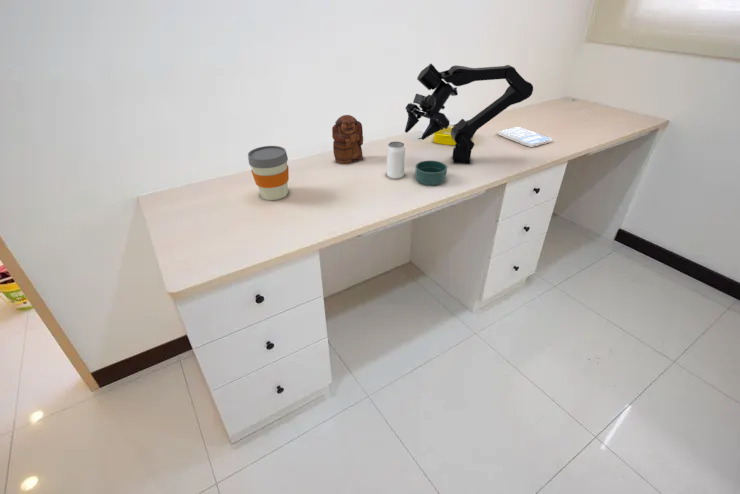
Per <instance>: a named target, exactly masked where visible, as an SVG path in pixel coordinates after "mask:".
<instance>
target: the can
mask: <svg viewBox="0 0 740 494" xmlns="http://www.w3.org/2000/svg"><path fill="white" fill-rule="evenodd" d="M387 144H388V146H387V148H386V175H387V177H388V178H390V179H393V180H396V179H397V180H398V179H402V178H403V177H404V176H405V163H406V162H405V161H406V147H405V143H404V142H402V141H391V142H389V143H387Z"/></svg>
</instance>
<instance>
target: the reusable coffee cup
mask: <svg viewBox="0 0 740 494" xmlns="http://www.w3.org/2000/svg"><path fill="white" fill-rule="evenodd" d="M247 158H248V165H249V166H250V168H251V174H252V177H253V180H254V183H255V185H256V186H257V187H258V190H259V193H260V195H261V198H262V199H264V200H266V201H277V200H281V199H283V198H285V197H287V195H288V194H289V189H288V182H289V180H290V178H289V177H290V176H289V175H290V174H289V164H288V159H289V158H288V153H287V150H286V149H285V147H282V146H279V145H264V146H259V147H256V148H253V149H251V150H250V151H249V152H248V153H247Z"/></svg>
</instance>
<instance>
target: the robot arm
mask: <svg viewBox="0 0 740 494" xmlns="http://www.w3.org/2000/svg"><path fill="white" fill-rule="evenodd" d="M416 80H417V81H418V82H419V83H420V84H421V85H422V86H423V87H424V88H426V89H427V90H428V91H433V92H432V93H431V94H427V96H426V95H423V94H420V93H416V94H415V96H414V98H413V100H412V102H410V103H407V105H406V106H405V108H404V109H405V110H406V113H407V121H406V125H405V128H404V133H409V132H410V131H411V130H412V129H413V128H414V127H415V126H416V125H417V124H418V123H419V122H420V119H422V117H423V118H426V119H428V120H429V123H428V125H427V127H426V128H425V130H424V132H423V133H422V135H421V138H420V139H421V140H425V139H427V138H429V137H430V136H432V135H434V133H435V132H437V131H439V130H443V128H444V129H447V127H448V126H449V124H450V122H451V121H450V120H449V118H448V117H447V116H446V114H445V113H443V112H441V110H444V109H445V108H446V106H445V104H446V102H447V101H448V99H449V98H450V96H452V97H455V96H458V95H459V94H458V93H459V92H458V87H461V86H465V85H466V86H467V85H468V84H471V83H474V82H479V81H495V80H505V81H506V82H507V84H508V85H509V86H508V87H507V88H506V90H505V91H504V93H503V94H502V95H501V96H499V97H498V98H497V99H496V100H494V101H493V102H492V103H490V104H488V106H486V107H485V108H483V109H482V110H481V111H479V112H478V113H476V115H474V116H473V117H471V118H470V119H468V120H465V119H464V118H461V119H460V120H459V121H458V122H456V123H455V124H453V125H454V127H453V128H452V129H451V137H452V138H453V140H454V141H455V142H456V143H457V144H455V146H454V147H453V148H452V156H451V159H452V161H453V163H454V164H465V165H466V164H468V165H469V164H471V157H472V150H473V149H474V147H475V145H476V144H475V143H474V141H473V140H472V139H473V137H474V135H475V134H476V132H477V131H478V130H479V129H480V128H481V127H483V126H484V125H486V124H487V123H488V122H490V121H491V120H492V119H494V118H496V117H497V116H498V115H499V114H501V113H502V112H503V111H505V110H506V109H508V108H509V107H510V106H512V105H516V104H519V103H521V102H523V101H525V100H527V99H529V98H530V97H531V96H532V95H533V92H534V86H533V84H532V83H531V82H529V81H527V80H526V79H525V78H524V77H522V76H521V74H520V73H519V71H517V69H516V68H515V67H513V66H512V65H510V64H505V65H500V66H487V67H486V66H485V67H469V66H463V65H452V66H451V67H450V68H449V69H447V70H442V71H439V70H437V68H436V67H435V65H434V64H432V63H429V64H428V65H426V67H424V68H423V69H422V70H420V72H419V74H418V75H417V78H416ZM451 84H452V85H453V86H455V87H453V86H452V85H451Z"/></svg>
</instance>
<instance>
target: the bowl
mask: <svg viewBox="0 0 740 494" xmlns="http://www.w3.org/2000/svg"><path fill="white" fill-rule="evenodd" d="M414 170H415V171H414V179H415V181H416V182H417V183H418V184H420V185H424V186H428V187H429V186H430V187H432V186H433V187H434V186H439V185H442V184H443V183H445V182H446V181H447V175H448V174H447V173H448V166H447V164H446V163H444V162H441V161H437V160H422V161H419V162H418V163H416V164H415V169H414Z"/></svg>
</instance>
